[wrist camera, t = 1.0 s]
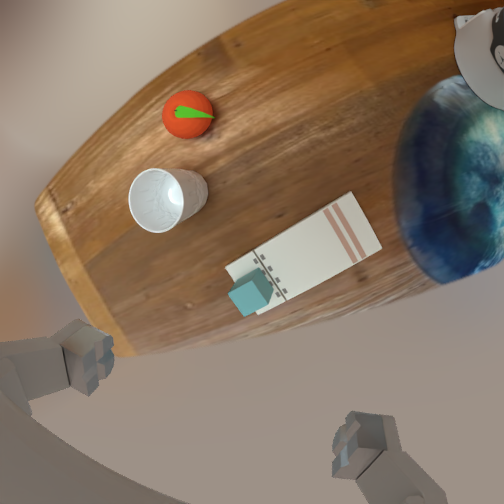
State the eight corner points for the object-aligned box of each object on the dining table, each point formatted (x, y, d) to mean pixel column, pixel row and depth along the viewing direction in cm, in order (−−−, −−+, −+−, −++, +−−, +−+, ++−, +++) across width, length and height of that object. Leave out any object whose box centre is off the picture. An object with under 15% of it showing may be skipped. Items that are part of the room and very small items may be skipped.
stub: (253, 249, 43) (244, 262, 38) (286, 298, 45) (281, 317, 39) (226, 265, 45) (214, 280, 39) (259, 312, 46) (251, 331, 41)
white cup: (172, 160, 42) (135, 161, 33) (218, 174, 42) (191, 178, 32) (160, 208, 45) (123, 220, 36) (204, 224, 44) (175, 241, 35)
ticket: (350, 190, 38) (351, 191, 37) (380, 245, 40) (382, 248, 38) (255, 247, 44) (253, 250, 42) (288, 296, 45) (287, 300, 44)
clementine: (231, 99, 38) (214, 88, 31) (220, 144, 40) (202, 142, 34) (181, 93, 39) (158, 83, 32) (171, 136, 41) (147, 133, 35)
